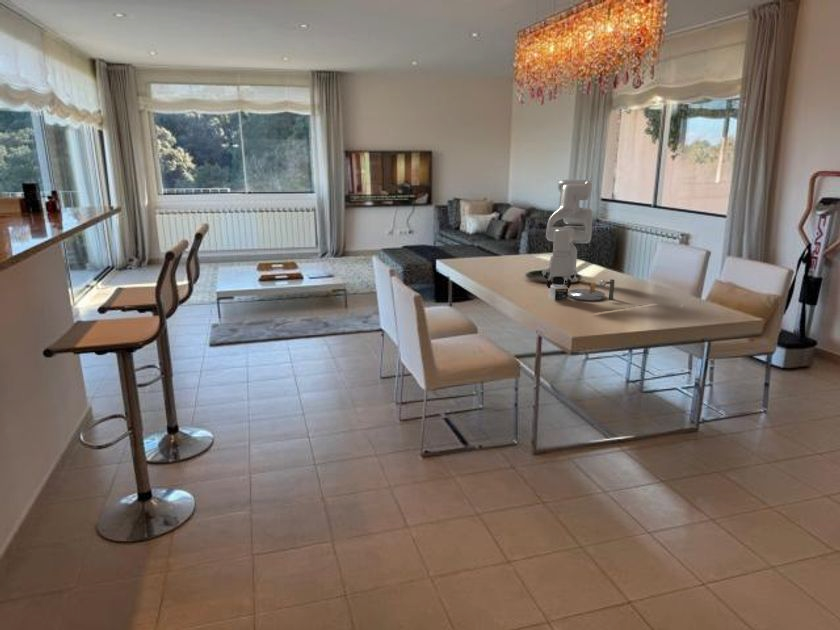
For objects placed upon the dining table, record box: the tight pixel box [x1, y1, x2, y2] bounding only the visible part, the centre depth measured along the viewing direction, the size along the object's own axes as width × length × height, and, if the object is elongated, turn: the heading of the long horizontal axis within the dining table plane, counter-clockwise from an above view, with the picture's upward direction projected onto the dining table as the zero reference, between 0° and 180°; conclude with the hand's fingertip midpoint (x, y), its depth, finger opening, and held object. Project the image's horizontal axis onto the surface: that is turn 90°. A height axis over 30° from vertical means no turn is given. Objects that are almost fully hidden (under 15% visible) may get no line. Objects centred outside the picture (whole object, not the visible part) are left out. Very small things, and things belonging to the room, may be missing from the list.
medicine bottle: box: [547, 277, 569, 301], centre depth 290 cm, size 7×7×12 cm
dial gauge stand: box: [598, 279, 616, 301], centre depth 287 cm, size 4×9×11 cm, turn 91°
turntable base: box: [568, 297, 607, 303], centre depth 293 cm, size 19×19×1 cm
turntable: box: [568, 282, 606, 302], centre depth 292 cm, size 18×18×6 cm
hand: (558, 287), depth 289 cm, fingers open, 9 cm apart
